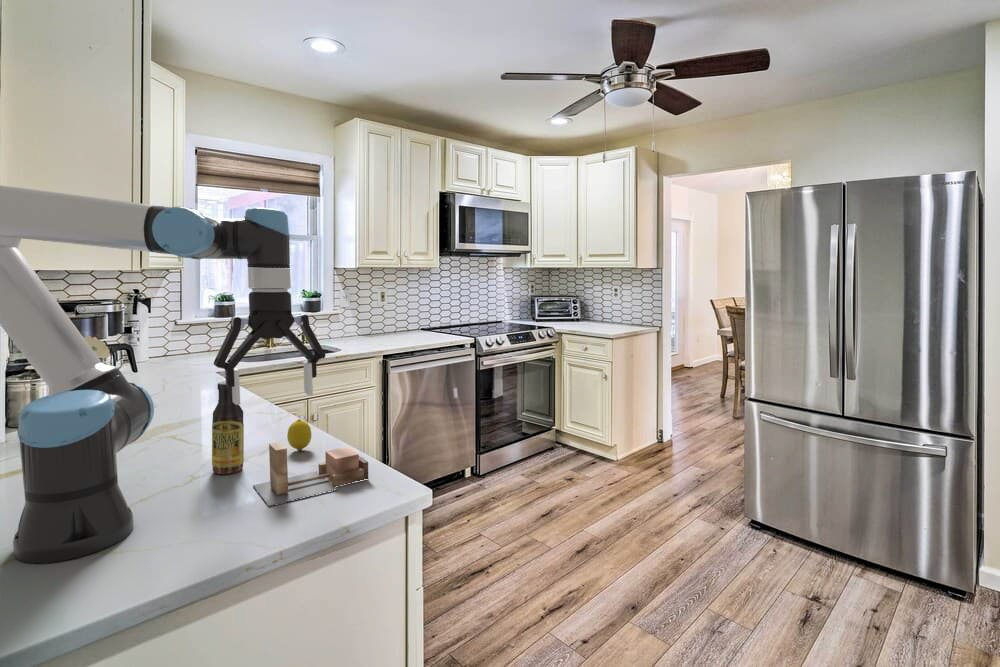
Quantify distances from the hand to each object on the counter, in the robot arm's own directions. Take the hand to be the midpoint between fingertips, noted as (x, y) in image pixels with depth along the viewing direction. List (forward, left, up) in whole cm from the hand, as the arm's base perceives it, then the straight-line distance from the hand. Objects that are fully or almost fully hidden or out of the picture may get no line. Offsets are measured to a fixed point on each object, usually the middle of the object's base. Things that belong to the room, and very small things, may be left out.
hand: (274, 398), depth 103 cm
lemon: (+24, +5, -19) cm, 31 cm away
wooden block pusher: (+4, -6, -18) cm, 20 cm away
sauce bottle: (+10, +15, -19) cm, 26 cm away
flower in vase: (+45, +73, -19) cm, 88 cm away
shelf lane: (+3, -6, -19) cm, 20 cm away
